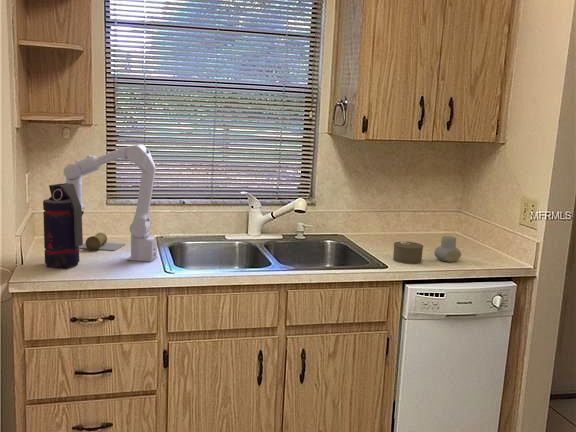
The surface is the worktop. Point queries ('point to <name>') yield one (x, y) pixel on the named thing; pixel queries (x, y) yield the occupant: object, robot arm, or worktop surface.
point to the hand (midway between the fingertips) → (74, 229)
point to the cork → (96, 241)
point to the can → (408, 252)
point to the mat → (106, 246)
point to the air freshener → (447, 250)
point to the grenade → (62, 226)
